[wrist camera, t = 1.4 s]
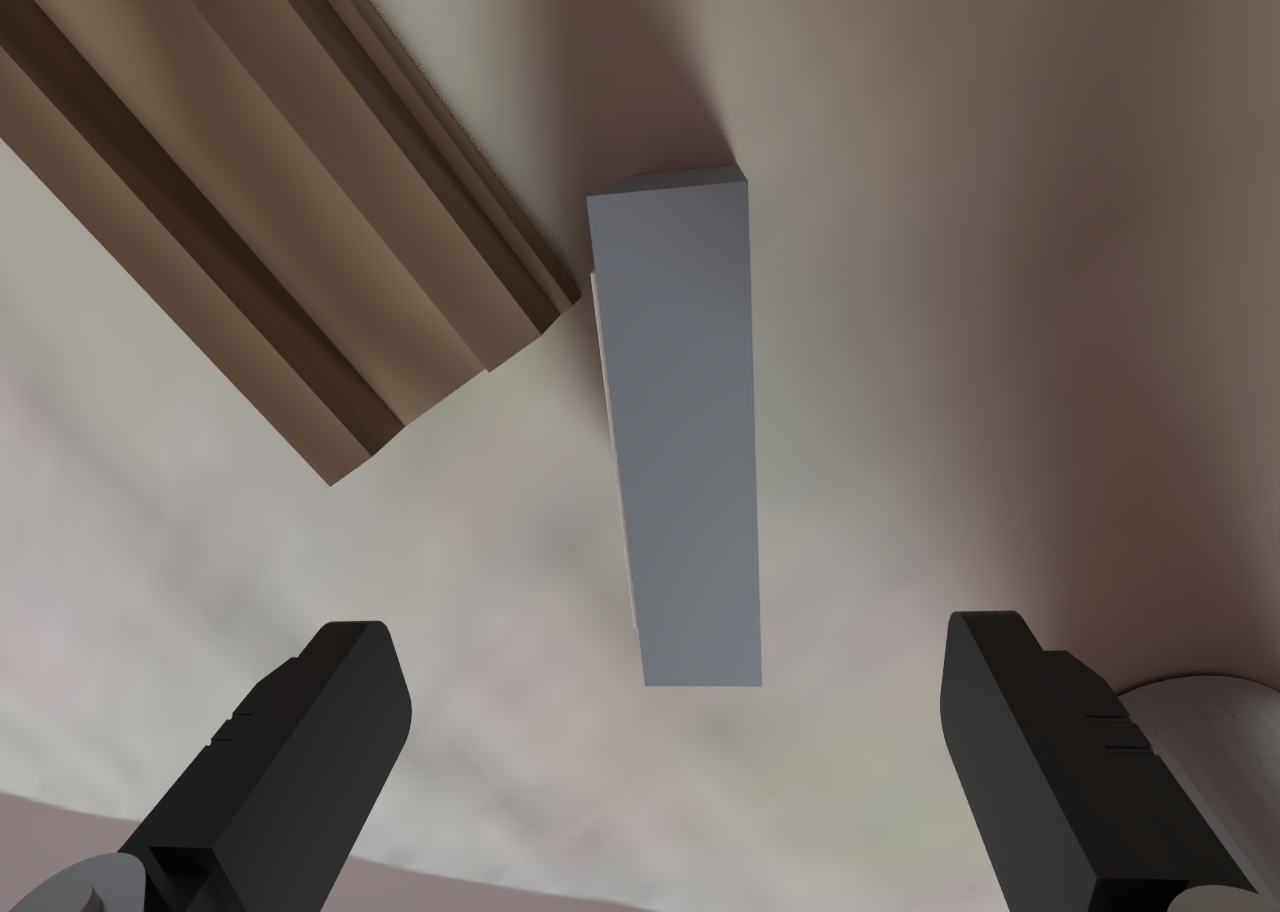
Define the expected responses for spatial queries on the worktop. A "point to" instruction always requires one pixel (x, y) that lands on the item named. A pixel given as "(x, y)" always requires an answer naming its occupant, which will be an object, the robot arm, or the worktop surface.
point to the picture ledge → (283, 202)
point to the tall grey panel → (682, 416)
